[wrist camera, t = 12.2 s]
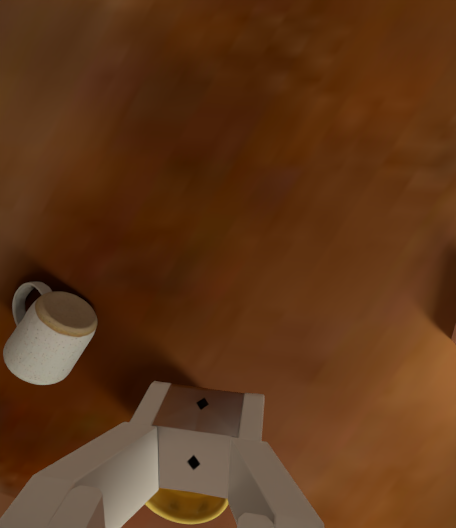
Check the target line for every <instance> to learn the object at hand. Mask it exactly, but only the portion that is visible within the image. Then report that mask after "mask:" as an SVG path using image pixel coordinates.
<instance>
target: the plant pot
mask: <svg viewBox="0 0 456 528" xmlns="http://www.w3.org/2000/svg"><path fill="white" fill-rule="evenodd" d="M228 504H229V503H228V499H226V498H221V497H216V496H211V495H205V494H200V493H195V492H188V491H181V490H173V489H165V488H159V490H158V491H157V492H156V493H155V494H154V495H153V496H152V497H151V498H150V499H149V500H148V501H147V502H146V503H145V505H146V506H147V507H148V508H149V509H151V510H152V511H153V512H155V513H156V514H158V515H160V516H161V517H163V518H166V519H168V520H171V521H174V522H178V523H183V524H199V523H204V522H207V521H210V520H212V519H214V518H216V517H217V516H219V515H220V514H221V513H222V512H223V511H224V510H225V509H226V507H227V506H228Z"/></svg>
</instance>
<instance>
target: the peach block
mask: <svg viewBox="0 0 456 528" xmlns="http://www.w3.org/2000/svg"><path fill="white" fill-rule="evenodd" d="M451 340H452V341H453V342H454V343H455V344H456V324H455V328H454V331H453V335H452V338H451Z"/></svg>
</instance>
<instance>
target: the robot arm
mask: <svg viewBox="0 0 456 528" xmlns="http://www.w3.org/2000/svg"><path fill="white" fill-rule="evenodd" d="M264 398H265V397H264V394H254V393H238V392H230V391H222V390H214V389H208V388H201V387H194V386H188V385H181V384H174V383H173V384H171V383H166V382H159V381H154V382H153V383H151V384H150V386H149V388H148V390H147V392H146V394H145V395H144V397H143V399H142V401H141V403H140V404H139V406H138V408H137V410H136V412H135V413H134V415H133V417H132V419H131V421H130V422H129V423H128V422H123V423H121V424H120V425H118V426H116V427H115V428H113V429H111V430H109V431H108V432H106V433H104V434H103V435H101V436H99V437H97V438H96V439H94V440H92V441H91V442H89V443H87V444H86V445H84V446H82V447H80V448H79V449H77V450H75V451H74V452H72V453H70V454H69V455H67V456H65V457H63V458H62V459H60V460H58V461H57V462H55V463H53V464H52V465H50V466H48V467H46V468H45V469H43V470H41V471H40V472H38V473H36V474H34V475H33V476H32V478H31V479H30V480H29V481H28V483H27V484H26V485H25V487H24V488H23V489H22V491H21V492H20V493H19V495H18V496H17V497H16V499H15V500H14V501H13V503H12V504H11V505H10V507H9V508H8V509H7V511H6V512H5V513H4V515H3V516H2V517H1V519H0V528H120V527H121V526H123V525H124V524H125V523H126V522H127V521H128V520H129V519H130V518H131V517H132V516H133V515H134V514H135V513H136V512H137V511H138V510H139V509H140V508H141V507H142V506H143V505H144V504H145V503H146V502H147V501H148V500H149V499H150V498H151V497H152V496H153V495H154V494H155V493H156V492H157V491H158V490H159V488H165V489H173V490H181V491H188V492H195V493H200V494H205V495H211V496H216V497H221V498H226V499H228V503H229V505H230V508H231V510H232V513H233V516H234V518H235V521H236V523H237V528H324V523H323V522H322V520H321V519H320V517H319V516H318V515H317V513H316V512H315V510H314V509H313V507H312V506H311V505H310V503H309V502H308V500H307V499H306V497H305V496H304V494H303V493H302V492H301V490H300V489H299V487H298V486H297V484H296V483H295V481H294V480H293V479H292V477H291V476H290V474H289V473H288V471H287V470H286V468H285V467H284V466H283V464H282V463H281V461H280V460H279V458H278V457H277V455H276V454H275V453H274V451H273V450H272V448H271V447H270V445H269V444H268V443H267V442H263V441H261V440H262V426H263V412H264Z"/></svg>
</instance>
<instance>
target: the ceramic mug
mask: <svg viewBox="0 0 456 528" xmlns="http://www.w3.org/2000/svg"><path fill="white" fill-rule="evenodd" d="M34 287H35V288H36V289H37V290H38V291H39V292H40V294H41V295H42V296H40V297H39V298H38V299H37V300H36V301H35V302H34V303H33V304H32V305H31V306H30V308H29V309H28V311H27V312H26V310H25V300H26V297H27V296H28V294H29V293H30V292H31V290H33V289H34ZM12 309H13V316H14V319H15V323H16V325H17V328H16V329H15V331H14V332H13V334H12V335H11V336H10V338H9V339H8V341H7V342H6V344H5V347H4V350H3V355H4V360H5V363H6V365H7V367H8V368H9V369H10V371H11V372H12V373H13V374H15V375H16V376H17V377H19V378H20V379H22V380H24V381H27V382H29V383H33V384H38V385H48V384H54V383H57V382H59V381H61V380H63V379H64V378H65V377H66V376H67V375H68V374H69V373H70V371H71V370H72V368H73V366H74V365H75V363H76V362H77V360H78V359H79V357H80V356H81V354H82V352H83V351H84V349H85V348H86V346H87V345H88V343H89V342H90V340H91V339H92V337H93V335H94V333H95V330H96V327H97V316H96V314H95V312H94V310H93V308H92V307H91V306H90V305H89V304H88V303H87V302H86V301H85V300H83V299H82V298H80V297H78V296H76V295H74V294H71V293H68V292H62V291H53V292H52V290H51V289H50V287H48V286H47V285H46V284H44V283H43V282H27V283H24V284H23V285H21V286H20V287H19V288H18V289H17V291H16V293H15V295H14V298H13V303H12Z"/></svg>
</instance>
